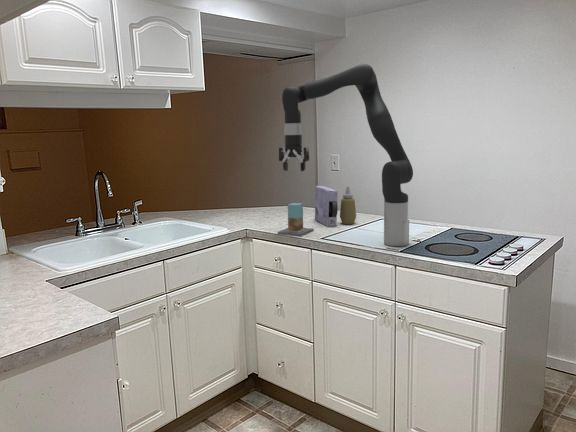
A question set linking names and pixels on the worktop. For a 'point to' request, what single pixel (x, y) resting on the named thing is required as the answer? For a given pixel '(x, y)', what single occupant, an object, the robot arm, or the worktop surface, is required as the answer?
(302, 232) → the base board
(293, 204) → the teal block
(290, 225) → the walnut block
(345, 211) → the squeeze bottle
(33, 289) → the worktop surface
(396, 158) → the robot arm
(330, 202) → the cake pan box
